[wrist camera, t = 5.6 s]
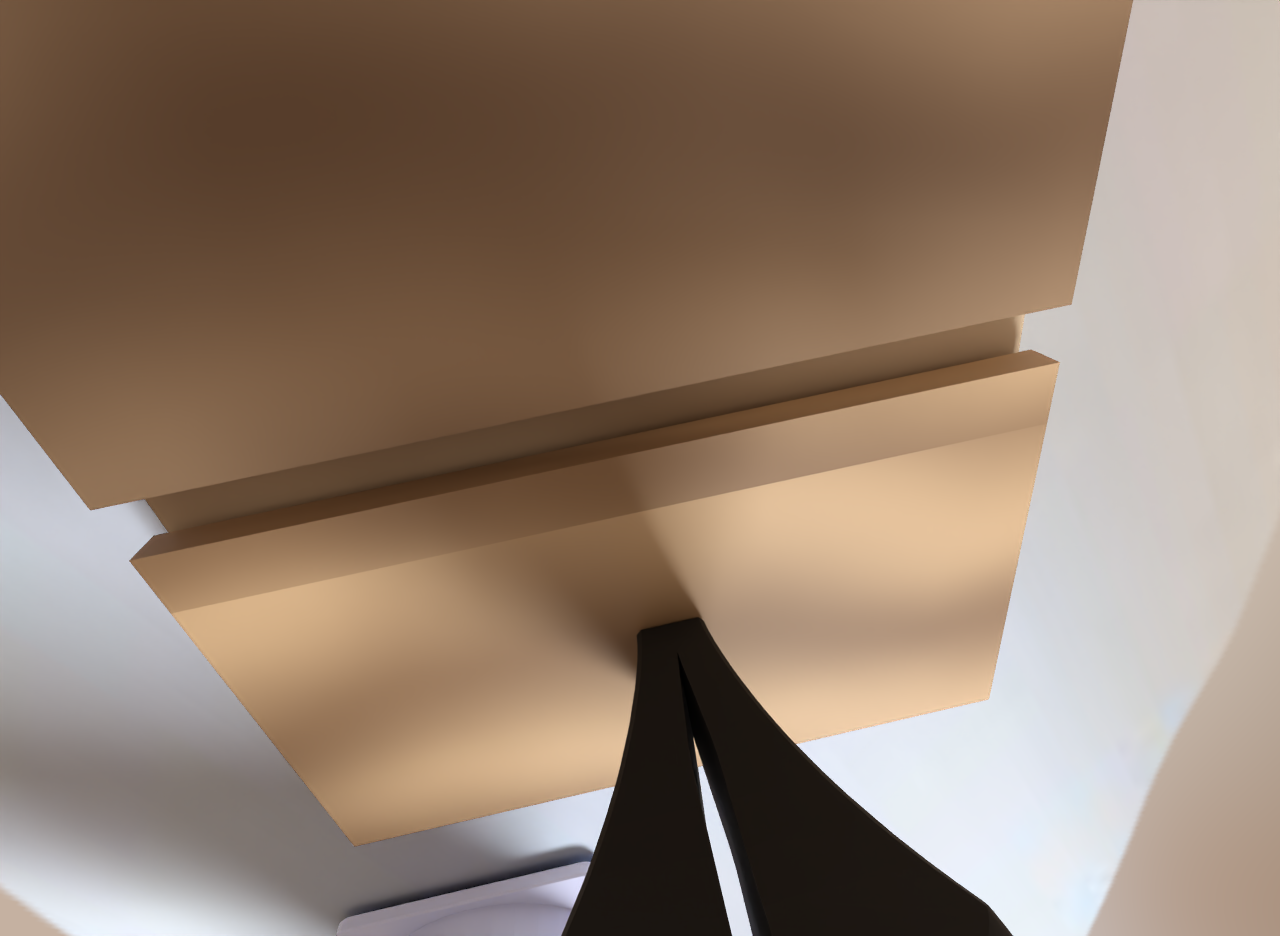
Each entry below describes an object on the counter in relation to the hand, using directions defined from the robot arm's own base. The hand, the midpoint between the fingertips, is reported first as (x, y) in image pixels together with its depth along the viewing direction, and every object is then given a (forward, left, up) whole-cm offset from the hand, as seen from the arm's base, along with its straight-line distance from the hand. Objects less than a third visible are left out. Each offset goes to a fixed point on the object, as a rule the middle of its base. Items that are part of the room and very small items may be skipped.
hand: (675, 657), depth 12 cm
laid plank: (+9, 0, -1) cm, 9 cm away
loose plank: (0, +1, -1) cm, 2 cm away
